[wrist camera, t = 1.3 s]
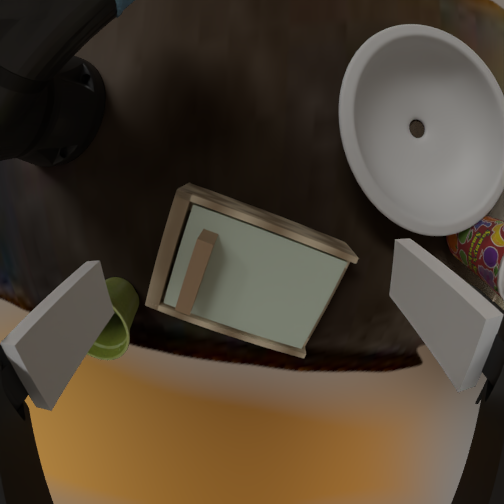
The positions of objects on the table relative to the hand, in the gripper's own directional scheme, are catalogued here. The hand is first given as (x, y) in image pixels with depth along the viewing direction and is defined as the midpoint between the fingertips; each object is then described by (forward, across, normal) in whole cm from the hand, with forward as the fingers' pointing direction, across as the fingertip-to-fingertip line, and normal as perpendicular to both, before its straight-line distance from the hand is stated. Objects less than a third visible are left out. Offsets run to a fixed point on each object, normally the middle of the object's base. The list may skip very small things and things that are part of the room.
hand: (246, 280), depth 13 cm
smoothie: (+23, +29, -7) cm, 38 cm away
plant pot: (+24, -19, -13) cm, 33 cm away
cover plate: (+19, 0, -9) cm, 22 cm away
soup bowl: (+24, +21, +7) cm, 33 cm away
